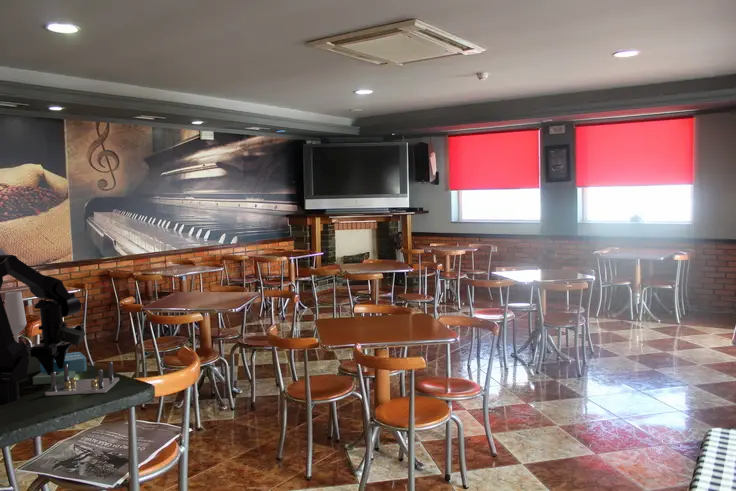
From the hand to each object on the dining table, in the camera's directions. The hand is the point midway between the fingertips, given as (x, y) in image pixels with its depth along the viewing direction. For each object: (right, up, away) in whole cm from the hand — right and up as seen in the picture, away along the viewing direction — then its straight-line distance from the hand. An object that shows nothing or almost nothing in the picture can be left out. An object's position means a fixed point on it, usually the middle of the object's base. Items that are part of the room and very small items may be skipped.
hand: (56, 371), depth 184 cm
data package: (-7, 0, +15) cm, 17 cm away
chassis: (+13, -3, -9) cm, 16 cm away
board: (0, -3, -1) cm, 3 cm away
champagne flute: (-26, -2, +25) cm, 36 cm away
